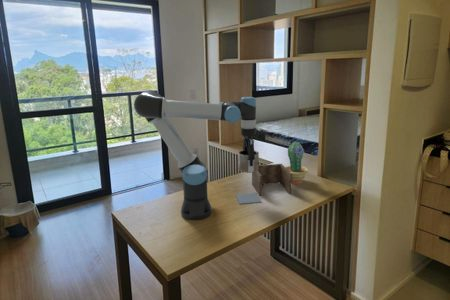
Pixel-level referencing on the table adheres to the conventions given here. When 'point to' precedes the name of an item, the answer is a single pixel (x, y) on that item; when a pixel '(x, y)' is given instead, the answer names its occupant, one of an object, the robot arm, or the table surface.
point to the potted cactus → (296, 163)
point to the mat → (248, 198)
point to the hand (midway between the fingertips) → (248, 168)
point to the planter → (244, 162)
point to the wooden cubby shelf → (271, 177)
